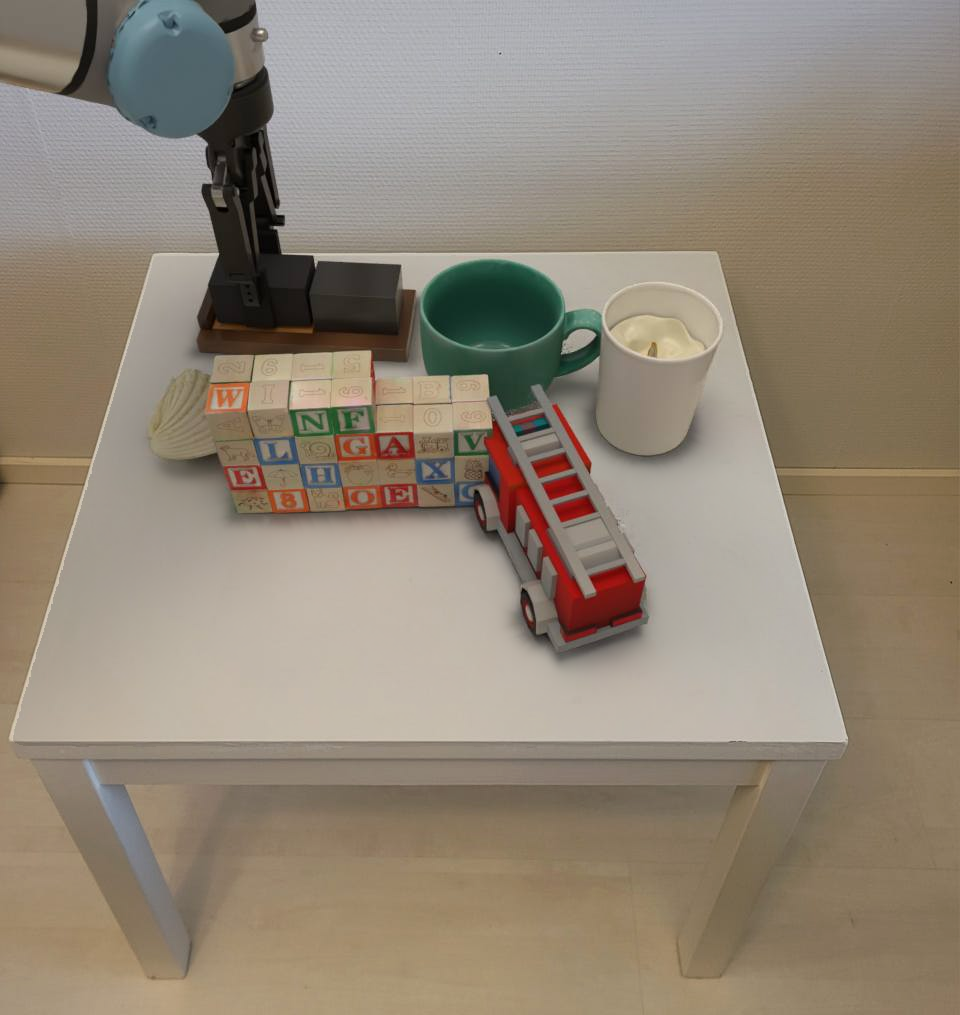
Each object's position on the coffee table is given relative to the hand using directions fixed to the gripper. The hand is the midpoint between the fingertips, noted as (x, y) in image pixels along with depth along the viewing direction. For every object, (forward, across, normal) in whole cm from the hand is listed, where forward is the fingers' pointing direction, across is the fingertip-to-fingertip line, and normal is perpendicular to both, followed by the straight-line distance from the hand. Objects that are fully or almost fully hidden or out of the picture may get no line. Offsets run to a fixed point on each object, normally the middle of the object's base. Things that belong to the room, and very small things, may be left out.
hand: (267, 305), depth 93 cm
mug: (+3, -7, -24) cm, 25 cm away
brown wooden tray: (+2, 0, -4) cm, 5 cm away
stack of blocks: (+2, -20, -12) cm, 23 cm away
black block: (0, 0, 0) cm, 0 cm away
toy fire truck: (+2, -27, -28) cm, 39 cm away
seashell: (+2, -17, +3) cm, 17 cm away
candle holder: (+3, -11, -36) cm, 38 cm away
